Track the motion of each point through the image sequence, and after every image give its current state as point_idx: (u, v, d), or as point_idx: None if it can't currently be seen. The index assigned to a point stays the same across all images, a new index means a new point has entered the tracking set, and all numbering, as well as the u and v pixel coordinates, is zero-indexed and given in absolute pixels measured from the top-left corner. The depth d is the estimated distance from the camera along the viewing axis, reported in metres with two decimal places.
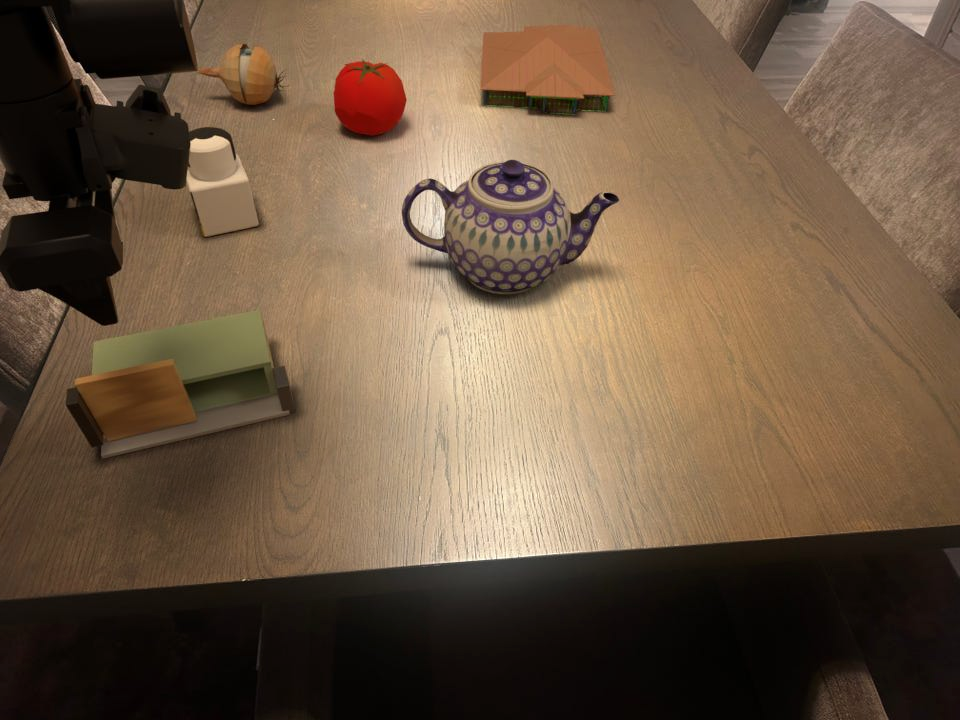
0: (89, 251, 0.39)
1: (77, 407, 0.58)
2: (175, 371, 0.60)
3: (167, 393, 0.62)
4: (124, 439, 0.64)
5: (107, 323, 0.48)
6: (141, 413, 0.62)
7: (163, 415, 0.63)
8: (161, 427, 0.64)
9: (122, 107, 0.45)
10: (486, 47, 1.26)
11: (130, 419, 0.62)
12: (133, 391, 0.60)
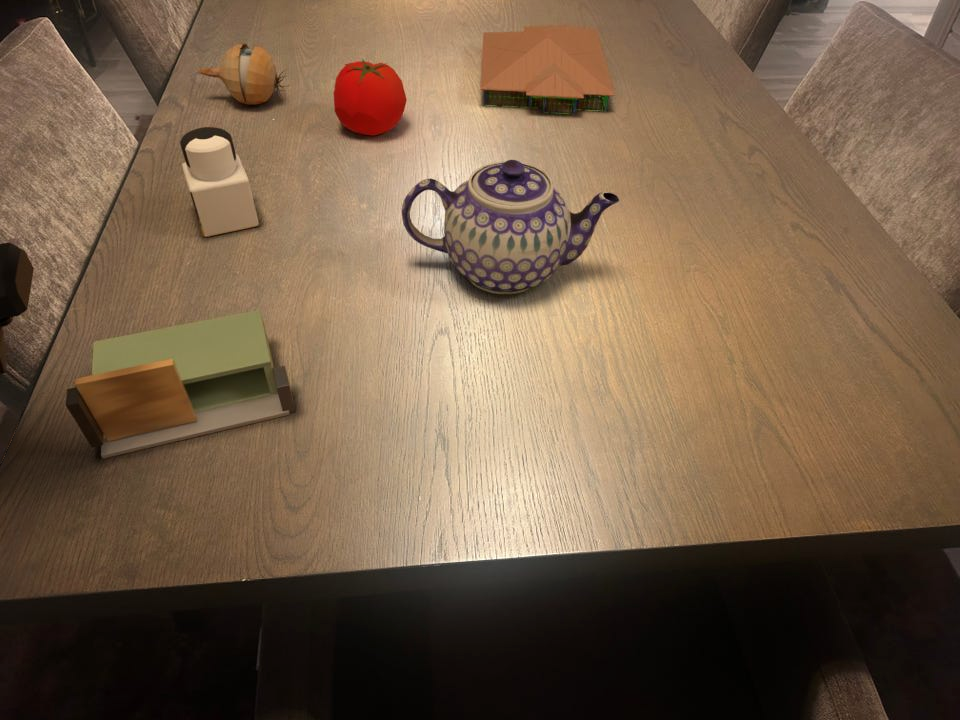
0: (21, 251, 0.50)
1: (77, 407, 0.58)
2: (175, 371, 0.60)
3: (167, 393, 0.62)
4: (124, 439, 0.64)
5: (5, 368, 0.54)
6: (141, 413, 0.62)
7: (163, 415, 0.63)
8: (161, 427, 0.64)
9: None
10: (486, 47, 1.26)
11: (130, 419, 0.62)
12: (133, 391, 0.60)
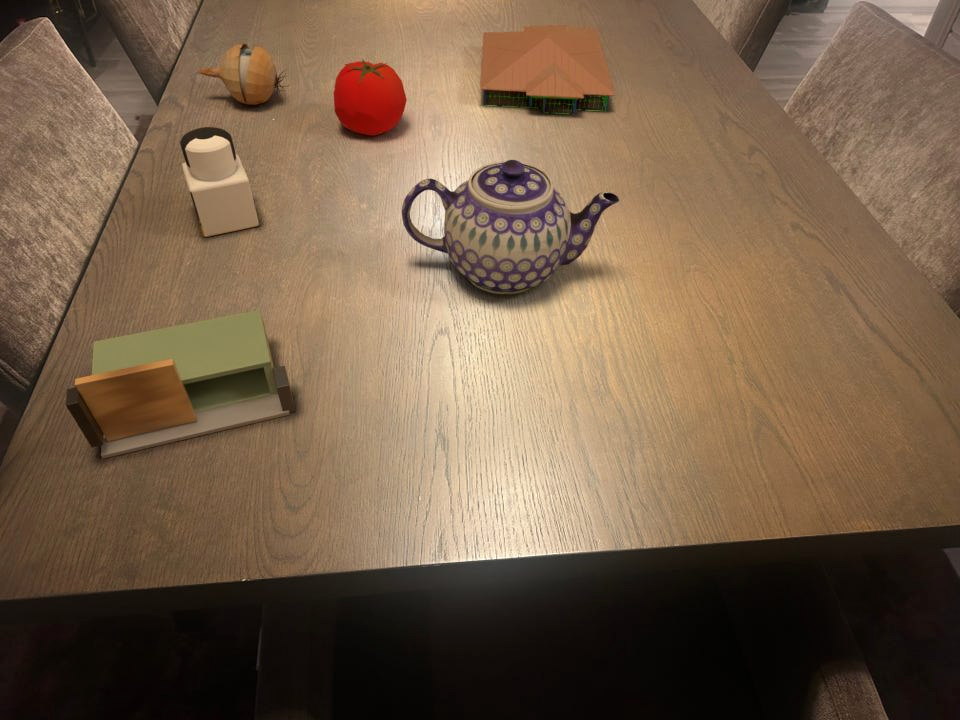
0: None
1: (77, 407, 0.58)
2: (175, 371, 0.60)
3: (167, 393, 0.62)
4: (124, 439, 0.64)
5: None
6: (141, 413, 0.62)
7: (163, 415, 0.63)
8: (161, 427, 0.64)
9: None
10: (486, 47, 1.26)
11: (130, 419, 0.62)
12: (133, 391, 0.60)
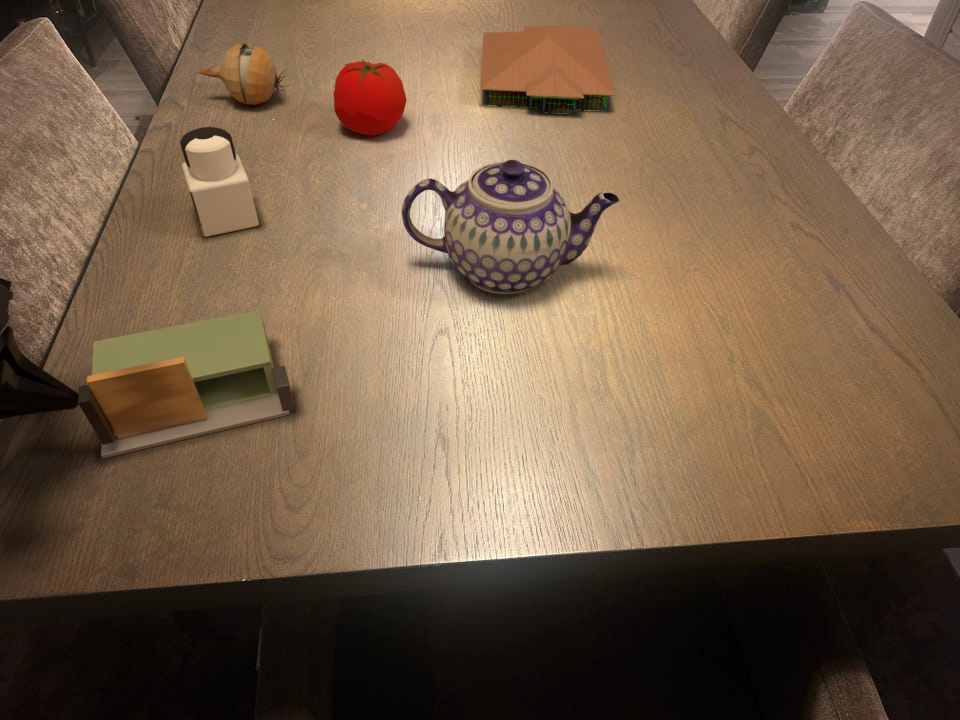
0: None
1: (89, 404, 0.58)
2: (186, 369, 0.61)
3: (177, 391, 0.62)
4: (124, 439, 0.64)
5: (74, 405, 0.58)
6: (152, 410, 0.62)
7: (173, 412, 0.64)
8: (171, 425, 0.65)
9: None
10: (486, 47, 1.26)
11: (141, 417, 0.63)
12: (144, 389, 0.60)
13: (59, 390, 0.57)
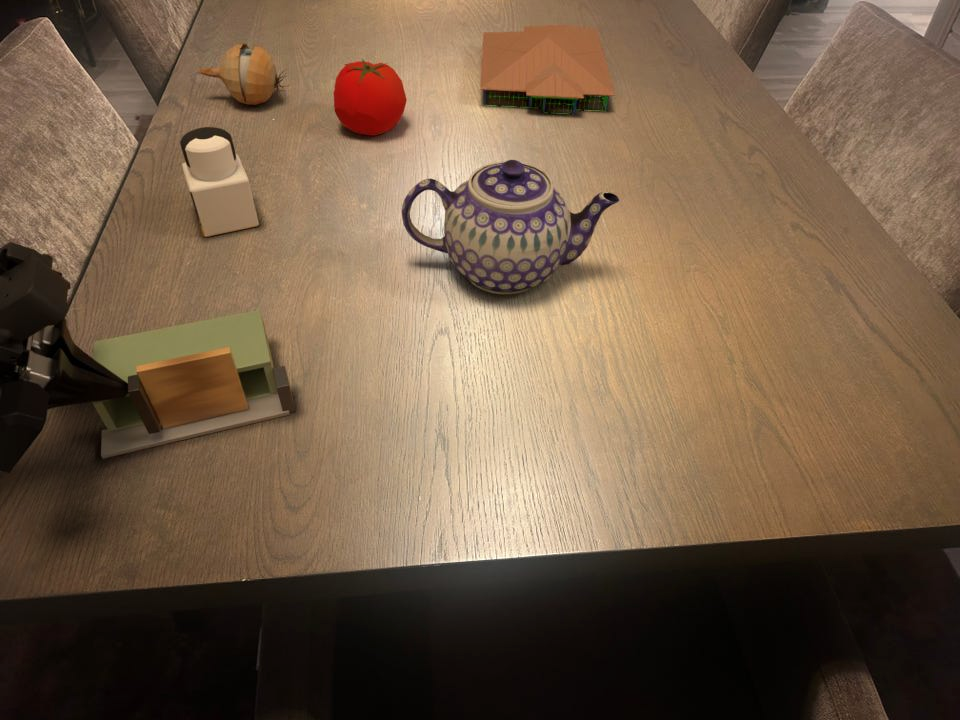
0: (7, 428, 0.47)
1: (138, 394, 0.59)
2: (232, 359, 0.62)
3: (222, 381, 0.63)
4: (124, 439, 0.64)
5: (123, 395, 0.59)
6: (197, 400, 0.63)
7: (217, 403, 0.65)
8: (214, 415, 0.66)
9: None
10: (486, 47, 1.26)
11: (186, 407, 0.64)
12: (191, 379, 0.61)
13: (110, 379, 0.58)
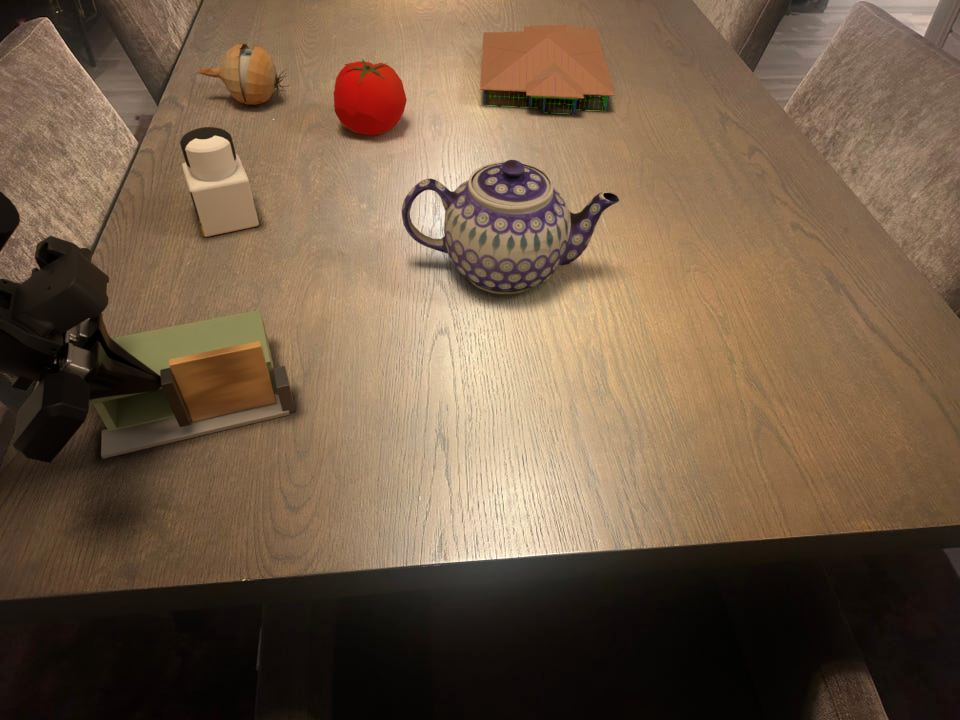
0: (51, 418, 0.47)
1: (171, 387, 0.60)
2: (262, 353, 0.62)
3: (252, 374, 0.64)
4: (124, 439, 0.64)
5: (157, 388, 0.60)
6: (227, 394, 0.64)
7: (246, 396, 0.65)
8: (243, 408, 0.66)
9: (34, 274, 0.52)
10: (486, 47, 1.26)
11: (216, 400, 0.64)
12: (221, 372, 0.62)
13: (144, 372, 0.59)
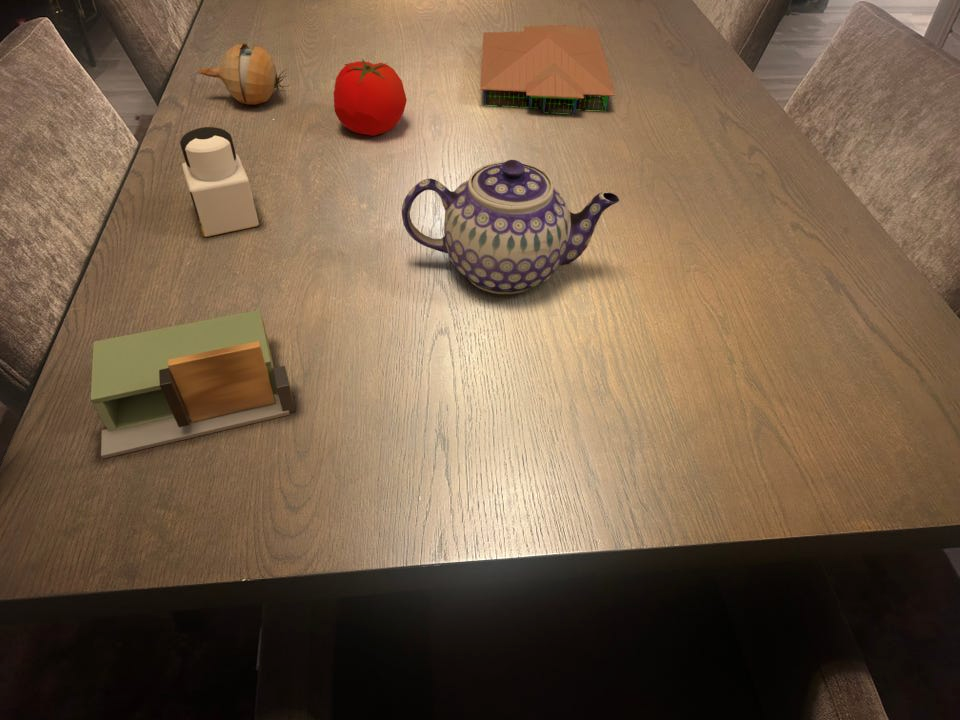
0: None
1: (170, 387, 0.60)
2: (261, 353, 0.62)
3: (251, 375, 0.64)
4: (124, 439, 0.64)
5: None
6: (226, 394, 0.64)
7: (245, 396, 0.65)
8: (242, 408, 0.66)
9: None
10: (486, 47, 1.26)
11: (215, 400, 0.64)
12: (220, 372, 0.62)
13: None
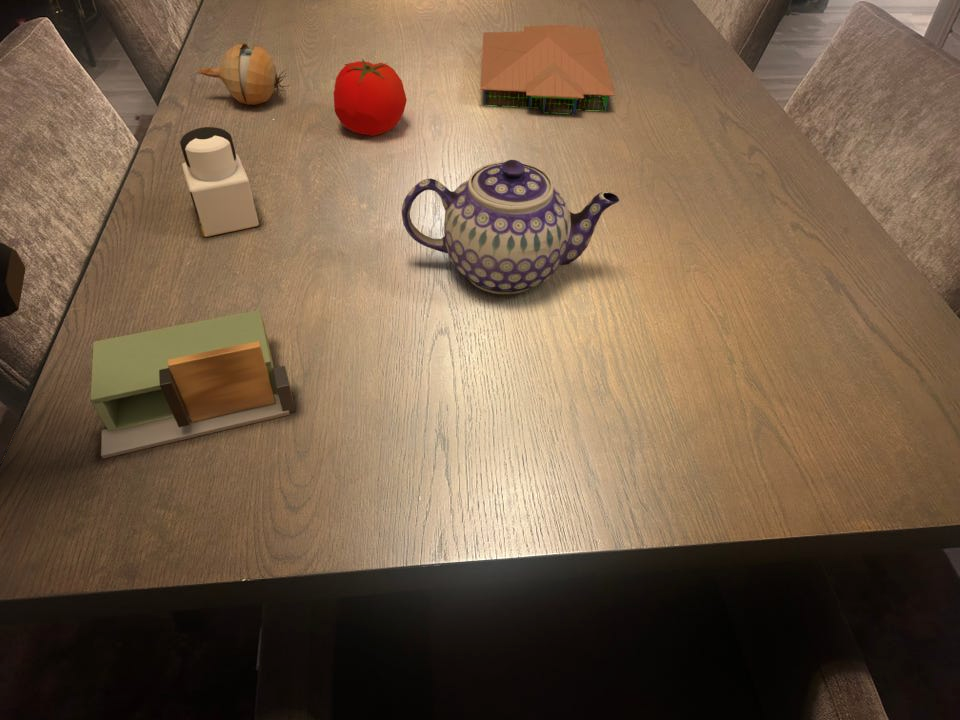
0: (12, 251, 0.50)
1: (170, 387, 0.60)
2: (261, 353, 0.62)
3: (251, 375, 0.64)
4: (124, 439, 0.64)
5: None
6: (226, 394, 0.64)
7: (245, 396, 0.65)
8: (242, 408, 0.66)
9: None
10: (486, 47, 1.26)
11: (215, 400, 0.64)
12: (220, 372, 0.62)
13: None
